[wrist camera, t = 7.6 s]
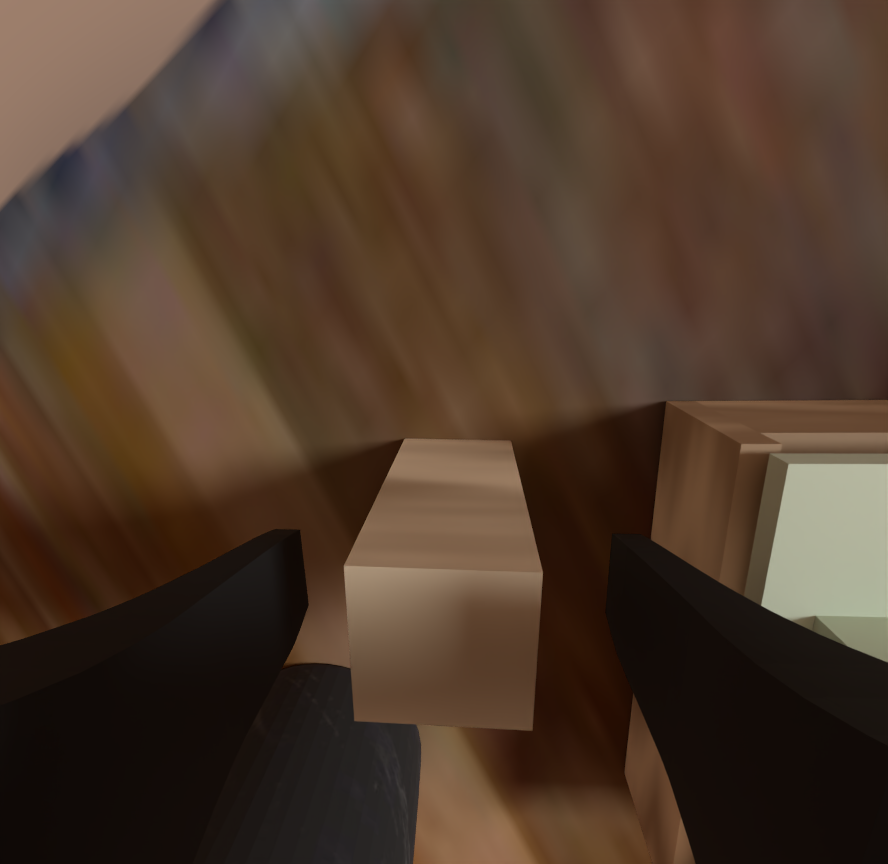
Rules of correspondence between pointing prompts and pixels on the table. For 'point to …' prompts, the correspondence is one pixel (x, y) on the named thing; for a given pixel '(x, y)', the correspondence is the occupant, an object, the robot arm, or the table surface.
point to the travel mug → (317, 781)
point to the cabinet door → (825, 546)
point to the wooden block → (446, 591)
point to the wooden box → (726, 531)
